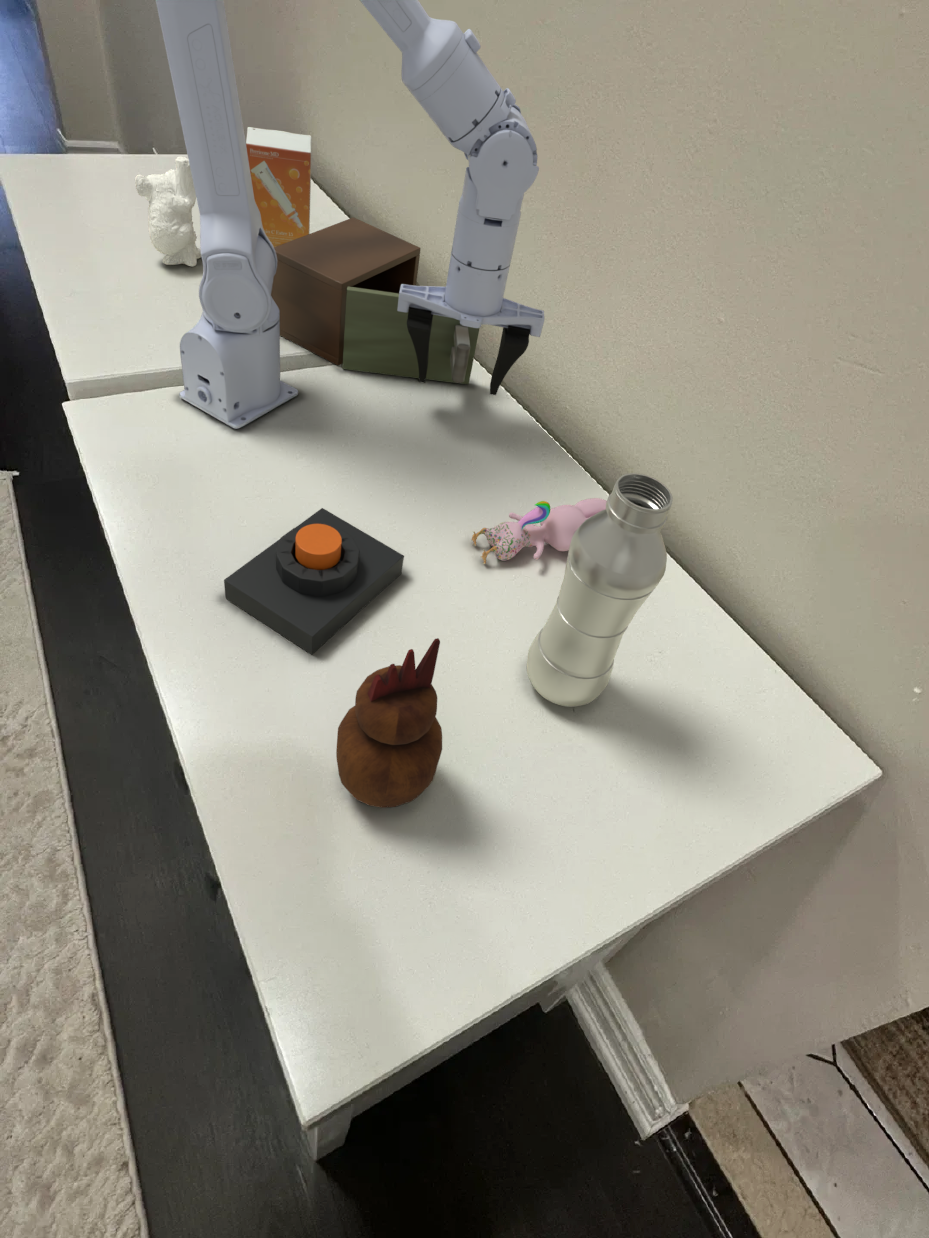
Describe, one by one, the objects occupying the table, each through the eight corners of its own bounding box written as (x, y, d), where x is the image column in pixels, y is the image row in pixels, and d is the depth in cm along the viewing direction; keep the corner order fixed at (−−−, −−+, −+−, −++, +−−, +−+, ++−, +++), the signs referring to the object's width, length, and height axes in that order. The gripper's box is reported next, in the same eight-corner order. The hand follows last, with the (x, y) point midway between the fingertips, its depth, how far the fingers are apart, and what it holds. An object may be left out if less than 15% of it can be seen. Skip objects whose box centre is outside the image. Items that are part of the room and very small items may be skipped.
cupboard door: (471, 410, 86) (486, 332, 79) (339, 394, 84) (344, 313, 77) (468, 381, 90) (483, 305, 83) (342, 365, 88) (347, 286, 81)
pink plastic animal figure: (488, 588, 70) (634, 547, 73) (491, 542, 65) (646, 501, 69) (464, 542, 73) (603, 504, 77) (465, 495, 69) (613, 458, 72)
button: (321, 577, 60) (321, 561, 59) (285, 555, 61) (285, 539, 60) (349, 553, 63) (350, 537, 61) (315, 533, 64) (315, 517, 62)
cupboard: (411, 324, 97) (421, 247, 90) (338, 366, 88) (342, 284, 81) (349, 294, 99) (353, 217, 92) (271, 331, 90) (269, 248, 83)
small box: (248, 251, 103) (244, 142, 93) (250, 230, 107) (246, 125, 97) (309, 257, 104) (311, 152, 95) (309, 237, 109) (311, 134, 99)
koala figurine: (208, 248, 101) (200, 147, 93) (220, 272, 98) (213, 169, 89) (140, 249, 98) (125, 145, 89) (150, 274, 94) (136, 168, 86)
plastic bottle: (549, 639, 65) (624, 445, 50) (615, 686, 63) (714, 497, 48) (504, 681, 61) (571, 484, 47) (572, 733, 59) (665, 543, 44)
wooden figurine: (430, 749, 56) (465, 612, 45) (430, 822, 52) (468, 692, 41) (337, 743, 55) (348, 602, 44) (330, 817, 51) (341, 683, 40)
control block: (311, 654, 60) (312, 621, 57) (225, 598, 62) (222, 563, 59) (401, 573, 67) (406, 540, 64) (321, 526, 70) (322, 491, 67)
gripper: (400, 260, 69) (386, 392, 79) (557, 290, 71) (524, 416, 81) (408, 229, 74) (394, 357, 84) (554, 258, 75) (523, 380, 85)
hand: (458, 383), depth 83 cm, fingers open, 7 cm apart
